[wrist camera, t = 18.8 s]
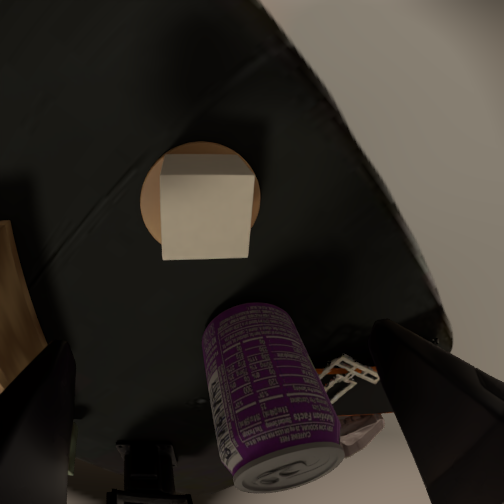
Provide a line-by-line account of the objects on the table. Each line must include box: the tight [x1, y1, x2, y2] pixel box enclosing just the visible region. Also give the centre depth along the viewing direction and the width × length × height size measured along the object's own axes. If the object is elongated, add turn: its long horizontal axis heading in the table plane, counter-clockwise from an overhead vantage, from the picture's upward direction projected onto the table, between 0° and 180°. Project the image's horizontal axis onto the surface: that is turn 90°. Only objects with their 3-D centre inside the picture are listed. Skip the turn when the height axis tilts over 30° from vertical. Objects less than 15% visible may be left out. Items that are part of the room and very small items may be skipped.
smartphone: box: [315, 367, 394, 416], centre depth 27 cm, size 8×17×1 cm, turn 97°
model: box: [318, 354, 380, 404], centre depth 27 cm, size 11×12×1 cm
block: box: [160, 154, 255, 260], centre depth 16 cm, size 4×4×4 cm
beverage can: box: [202, 302, 345, 493], centre depth 19 cm, size 7×7×12 cm
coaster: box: [140, 141, 260, 244], centre depth 19 cm, size 7×7×1 cm
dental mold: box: [337, 414, 385, 458], centre depth 31 cm, size 8×7×5 cm
